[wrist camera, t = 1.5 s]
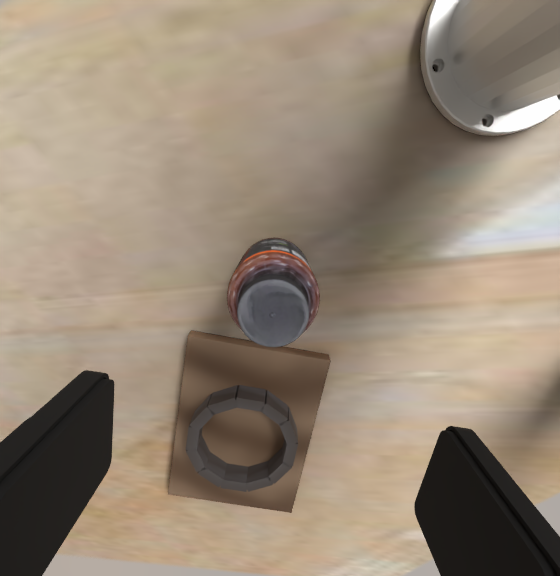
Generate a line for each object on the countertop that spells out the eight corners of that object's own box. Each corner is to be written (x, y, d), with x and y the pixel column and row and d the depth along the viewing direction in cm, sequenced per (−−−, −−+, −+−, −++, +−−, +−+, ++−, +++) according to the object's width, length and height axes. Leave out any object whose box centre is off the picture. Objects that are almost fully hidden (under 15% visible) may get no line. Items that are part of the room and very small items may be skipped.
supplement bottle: (256, 312, 30) (242, 378, 19) (229, 251, 28) (198, 285, 17) (317, 289, 29) (340, 344, 18) (294, 225, 28) (304, 244, 17)
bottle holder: (191, 330, 30) (181, 345, 27) (328, 354, 31) (334, 372, 28) (171, 484, 35) (161, 512, 32) (291, 502, 36) (292, 531, 32)
